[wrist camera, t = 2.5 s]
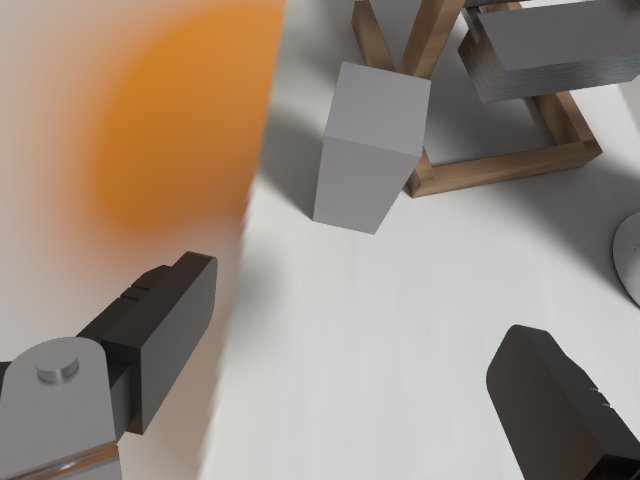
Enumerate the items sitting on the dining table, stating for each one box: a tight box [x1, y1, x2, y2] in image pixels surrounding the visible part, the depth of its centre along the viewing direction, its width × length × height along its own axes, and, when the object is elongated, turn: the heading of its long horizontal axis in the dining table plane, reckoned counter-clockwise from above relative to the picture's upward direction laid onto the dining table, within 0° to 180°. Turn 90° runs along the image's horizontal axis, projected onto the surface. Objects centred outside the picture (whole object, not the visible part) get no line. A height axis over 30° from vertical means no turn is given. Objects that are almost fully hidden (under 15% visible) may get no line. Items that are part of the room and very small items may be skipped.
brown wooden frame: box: [352, 0, 640, 198], centre depth 25 cm, size 18×15×12 cm
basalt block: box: [313, 61, 431, 234], centre depth 22 cm, size 4×4×10 cm
